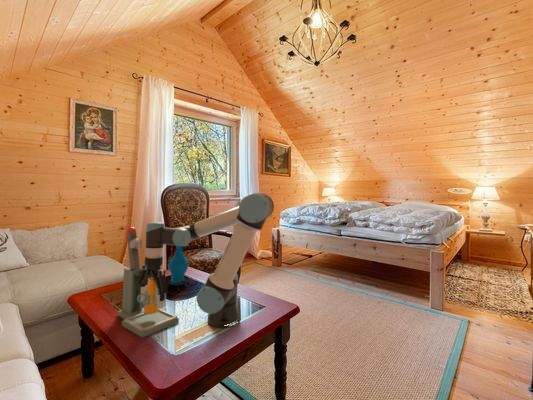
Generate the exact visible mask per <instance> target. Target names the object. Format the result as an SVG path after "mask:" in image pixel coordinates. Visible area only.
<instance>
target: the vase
mask: <svg viewBox="0 0 533 400" xmlns="http://www.w3.org/2000/svg"><path fill="white" fill-rule="evenodd" d="M183 247H184V246H175V253H174V255H173V256H172V257H171V259H170V261H169V263H168V270H169V272H170V274H171V280H170V281H171V282H173V283H177V282H181V281H183V280H185V274H186V272H187V270H188V268H189V260H188V259H187V258H186V256H185V255H184V252H183ZM169 284H170V285H172V286H179V285H184V284H183V283H181V284H172V283H170V282H169Z"/></svg>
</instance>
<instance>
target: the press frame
mask: <svg viewBox="0 0 533 400" xmlns="http://www.w3.org/2000/svg"><path fill="white" fill-rule="evenodd" d="M141 271H142V267H140V275H141ZM139 278H140V276H138V277H134V271H132V270H130V267H126V268H123V280H122V281H123V283H122V284H123V285H122V289H123V290H122V302H121V303H122V305H121V310H118V311H117V316H118V317H120V318H121V319H123V320H122V321H121V326H122V327H123V328H125V329H127V330H128V331H130V332H132V333H133V334H135V335H137V336H139V337H140V338H144V337H147V336H150V335H152V334H155V333H157V332H159V331H162V330H164V329H166V328H168V327H169V328H170V327H171V326H174V325H176V324H178V323H180V321H179V319H180V318H179V317H178V315H176V314H175V315H174V314H172V313H171V312H168V311H166V310H164V309H162V308H160V309H158V312H157V313H154V314H145V313H144V306H143V303H140V302H138V301H137V297H138V295H139V294H141V286H140V284H138V281H139ZM141 281H142V280H141ZM139 300H141V296H140V297H139Z"/></svg>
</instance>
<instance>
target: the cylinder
mask: <svg viewBox="0 0 533 400" xmlns="http://www.w3.org/2000/svg"><path fill="white" fill-rule="evenodd" d="M147 284H148V285H147V292H146V294H145V293H141V294H139V295H138V297H137V301H138V302H140V303H142V306H143V308H144V313H145V314H154V313H157V312H158V309H157V296H158V293H159V292H158V289H157V286H156V283H155V280H153V278H152V277H151V278H148V283H147ZM141 295H144V296H145V297H144V299H143V301H140V300H139V297H140V296H141ZM166 299H167V293H165V294H164V301H165V300H166Z"/></svg>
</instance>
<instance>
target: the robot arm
mask: <svg viewBox="0 0 533 400" xmlns="http://www.w3.org/2000/svg"><path fill="white" fill-rule="evenodd" d="M274 209H275V204H274V201H273V198H272V197H271V196H269V195H268V194H266V193H259V192H251V193H248V194H247V195H245V196H244V197H242V198H241V200H240V203H239V205H238V206H237V207H234V208H231V209H228V210H226V211H223V212H221V213H218V214H215V215H212V216H210V217H208V218H204V219H202V220H199V221H196V222H193V223H191V224H189V225H186V226H185V225H184V226H180V227H166V224H165V223H164V222H162V221H148V223H147V224H146V231H145V249H144V256H145V257H144V264H143V265H142V266H141V268H142V271H141V275H140V278H139V281H138V284H140V286H141V293H145V294H146V292H147V290H148V278H151V277H152V278H153V280H155V283H156V286H157V290H158V291H157V294H158V296H157V309H162V308H164V303H165V302H164V301H165V300H164V297H165V296H164V294H168V292H169V288H168V283H167V279H166V270H165V269H161V266H162V265H163V263H164V257H163V255H164V245H168V246H175V247H176V246H183V247H187V246H188V245H189V244H190V242H191V241H192V242H193V241H195V240H197V239H200V238H202V237H205V236H208V235H210V234H213V233H216V232H219V231H221V230H225V229H228V228H230V227H234V226H235V228H234V230H233V233H232V234H231V237H230V238H229V241H228V243H227V244H226V247H225V249H224V251H223V253H222V255H221V258H220V259H219V262H218V264H217V266H216V269H215V270H214V272H213V273H212V272H211V273H210V274H209V275H208V277H207V280H206V281H205V284H204V285H203V287H201V288H200V289H199V290H198V292H197V294H196V302H197V305H198V307H199V309H200V310H201V311H203V312H204V313H206V314H207V323H208V324H209V325H210V326H212V327H215V328H222V329H223V328H225V329H226V328H229V327H228V326H229V325H228V326H224V325H227V324H230V323H232V322H234V321H236V320H237V319H238V318H239V316H240V312H239V310H238V309H239V308H238V304H237V303H238V284H239V283H238V282H239V276H238V271H239V268H240V267H241V264H242V263H243V260H244V259H245V256H246V254H247V252H248V250H249V247H250V245H251V244H252V241H253V240H254V237H255V236H256V233H257V232H259V231H261V230H262V229H263V227H264V225H265V223H266V221H267V219H268V218H270V217H271V215H272V214H273V213H274ZM141 280H142V281H141ZM158 292H159V293H158ZM144 297H145V296H144V295H141V300H140V301H143V299H144ZM239 319H240V318H239Z"/></svg>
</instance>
